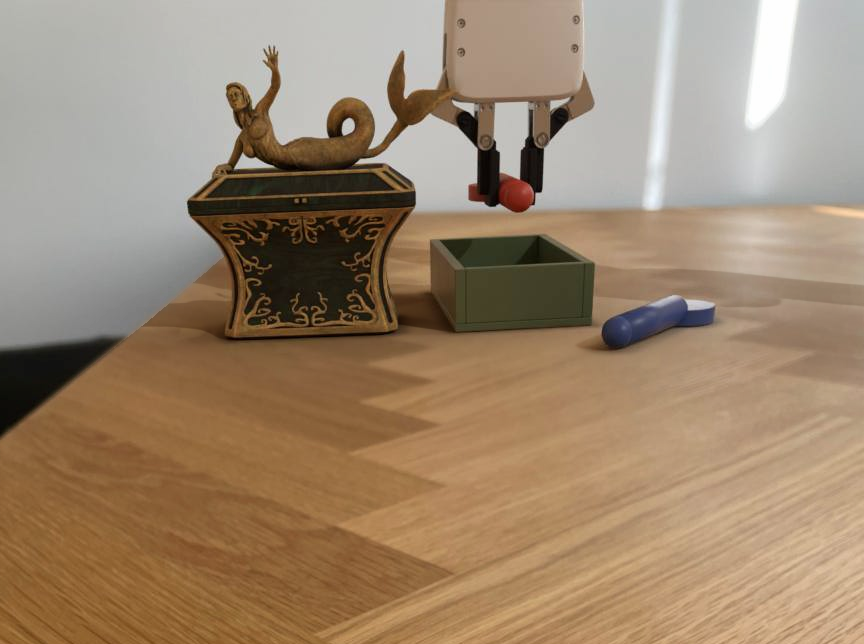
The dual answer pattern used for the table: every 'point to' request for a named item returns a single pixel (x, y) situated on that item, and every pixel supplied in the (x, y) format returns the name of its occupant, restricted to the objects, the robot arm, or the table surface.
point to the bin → (511, 282)
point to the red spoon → (508, 194)
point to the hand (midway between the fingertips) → (509, 202)
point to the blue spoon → (655, 320)
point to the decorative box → (311, 217)
